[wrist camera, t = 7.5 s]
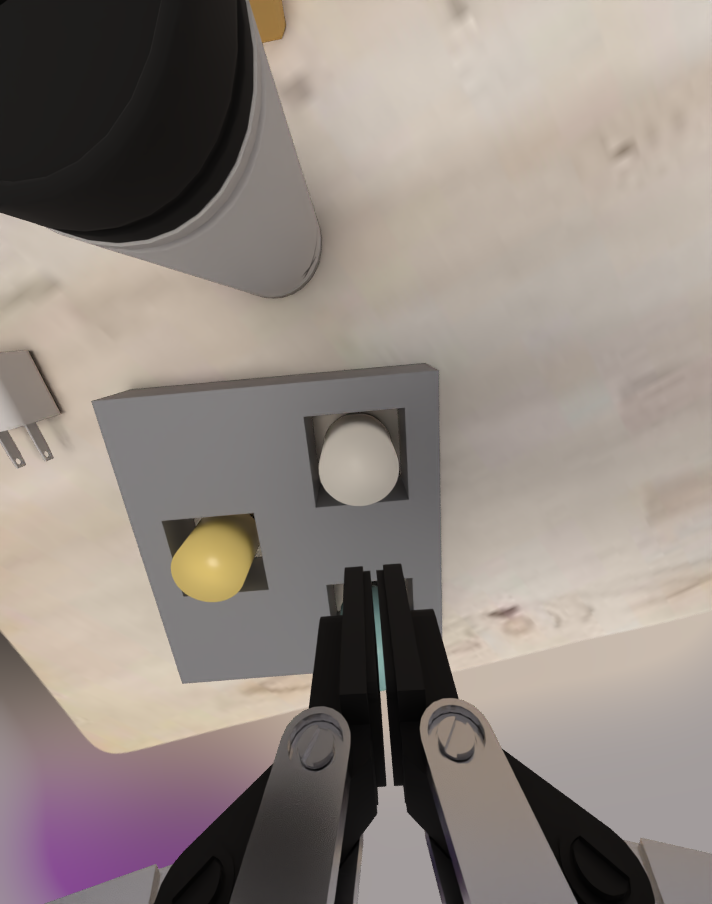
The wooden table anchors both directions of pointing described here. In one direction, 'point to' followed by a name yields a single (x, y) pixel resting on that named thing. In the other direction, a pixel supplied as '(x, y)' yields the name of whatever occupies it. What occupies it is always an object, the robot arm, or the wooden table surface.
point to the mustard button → (216, 557)
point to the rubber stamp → (269, 18)
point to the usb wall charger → (23, 402)
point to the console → (273, 506)
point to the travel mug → (155, 138)
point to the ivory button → (358, 460)
